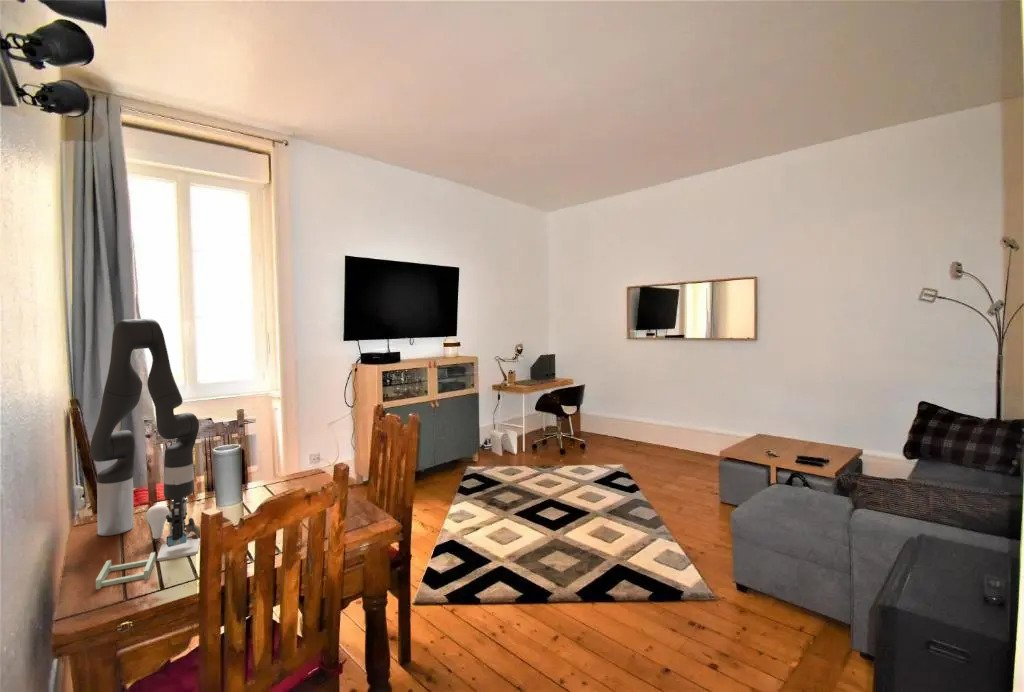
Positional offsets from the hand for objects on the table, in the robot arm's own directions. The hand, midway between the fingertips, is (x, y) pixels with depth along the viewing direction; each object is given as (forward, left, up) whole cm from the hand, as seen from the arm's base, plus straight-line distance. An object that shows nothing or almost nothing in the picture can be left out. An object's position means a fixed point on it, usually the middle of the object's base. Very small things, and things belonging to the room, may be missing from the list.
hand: (179, 534), depth 145 cm
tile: (0, 0, -5) cm, 5 cm away
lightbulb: (-13, -7, -5) cm, 16 cm away
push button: (0, 0, -3) cm, 3 cm away
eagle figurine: (-10, +2, -5) cm, 12 cm away
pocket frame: (+10, -11, -5) cm, 16 cm away
